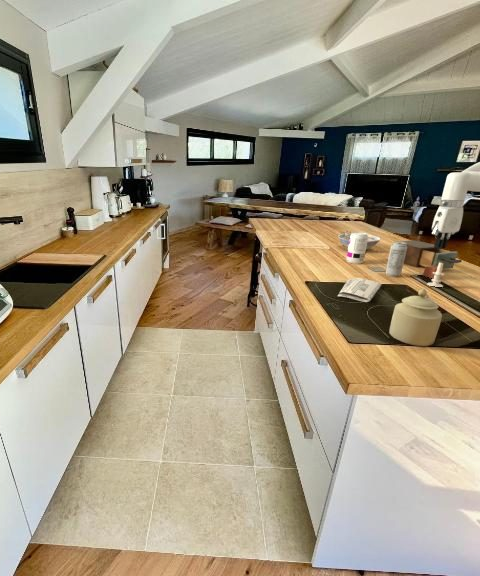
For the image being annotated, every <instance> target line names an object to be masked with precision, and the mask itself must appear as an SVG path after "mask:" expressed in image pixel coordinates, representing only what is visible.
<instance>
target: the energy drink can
mask: <svg viewBox="0 0 480 576" xmlns="http://www.w3.org/2000/svg"><path fill="white" fill-rule="evenodd" d="M406 244H407V243H405V242H400V241H393V243H392V244H391V246H390V249H389V255H388V259H387V264H386V269H385V273H386V276H388V277H392V278H399V277H400V276H401V275H402V272H403V268H404V260H405V255H406V251H407V245H406Z"/></svg>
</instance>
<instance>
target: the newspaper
mask: <svg viewBox="0 0 480 576" xmlns="http://www.w3.org/2000/svg"><path fill="white" fill-rule="evenodd" d="M381 287H382V283H380V282H377V281H374V280H371V279H367V278H362V277H354V278H348V280H347V281H346V283H344V285H343V287H342V288H341V289H340V291H339V293H338V295H337V297H343V298H347V299H348V298H349V299H351V300H355V301H359V302H363V303H370V302H371V301H372V300H373V298H374V297H375V295H376V294H377V292H378V291H379V290H380V288H381Z"/></svg>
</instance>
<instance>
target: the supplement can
mask: <svg viewBox="0 0 480 576" xmlns="http://www.w3.org/2000/svg"><path fill="white" fill-rule="evenodd" d="M350 234H351V235H350V240H349V246H348V247H347V252H346V259H345V261H346V262H347V263H349V264H353V265H361V264H363V263H364V262H365V256H366V251H367V249H366V246H367V241H368V235H369V234H368V233H367V232H361V231H354V232H351V233H350Z"/></svg>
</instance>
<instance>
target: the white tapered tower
mask: <svg viewBox="0 0 480 576" xmlns="http://www.w3.org/2000/svg"><path fill="white" fill-rule="evenodd" d="M442 268H443V263H442V262H441V263H439V265H438V268H437V271H436V272H433V274H435V276H434V279H431V282H427V286H428V285H429V286H428V287H430V286H435V287H442V288H444V285H443V284H441V282H442V280H441V279H442V276H445V273H444V272H443V271H442ZM441 272H442V273H441ZM435 287H434V288H435Z"/></svg>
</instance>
